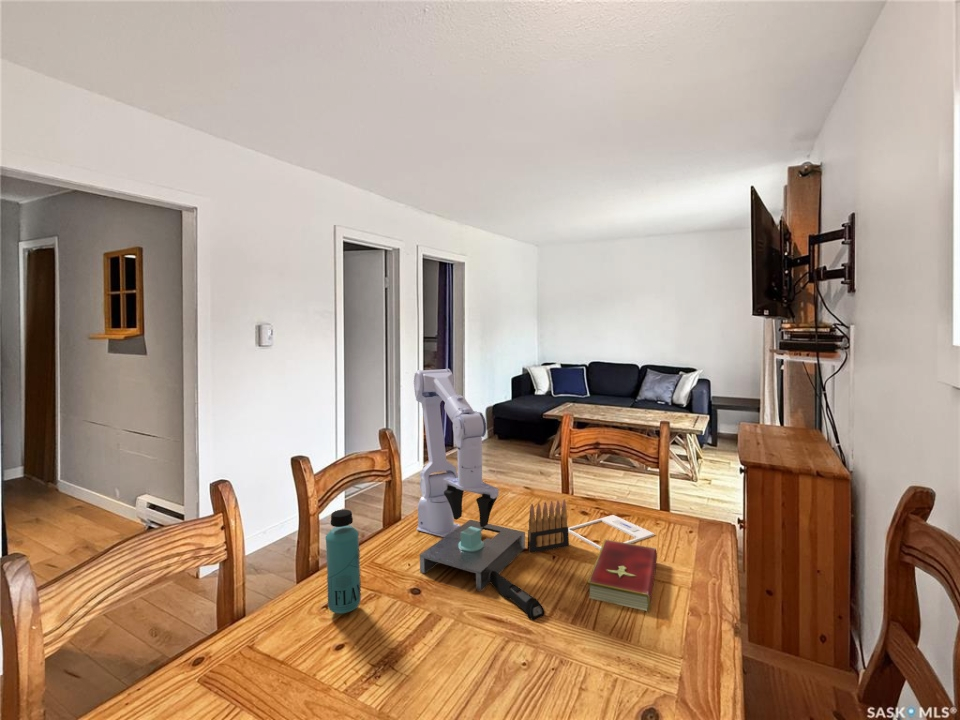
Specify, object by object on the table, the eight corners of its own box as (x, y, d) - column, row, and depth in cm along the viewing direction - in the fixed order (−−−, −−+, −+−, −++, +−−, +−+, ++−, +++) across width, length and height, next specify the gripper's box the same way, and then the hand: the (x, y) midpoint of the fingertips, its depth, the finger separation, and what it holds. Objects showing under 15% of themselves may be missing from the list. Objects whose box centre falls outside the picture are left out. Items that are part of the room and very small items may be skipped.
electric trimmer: (500, 581, 104) (499, 567, 104) (546, 616, 91) (546, 600, 91) (485, 586, 102) (485, 572, 102) (531, 622, 89) (530, 606, 89)
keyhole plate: (420, 572, 107) (419, 554, 107) (470, 534, 126) (470, 519, 126) (481, 591, 99) (480, 572, 99) (525, 548, 118) (524, 532, 118)
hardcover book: (656, 564, 110) (657, 547, 110) (649, 614, 91) (650, 594, 91) (604, 554, 115) (604, 538, 115) (587, 600, 96) (587, 580, 96)
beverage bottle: (330, 625, 88) (327, 521, 87) (324, 607, 94) (321, 509, 93) (365, 615, 91) (362, 514, 90) (357, 598, 97) (354, 503, 96)
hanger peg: (453, 560, 110) (452, 532, 110) (468, 550, 115) (468, 523, 115) (474, 567, 107) (473, 538, 106) (489, 557, 112) (488, 529, 111)
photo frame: (654, 532, 124) (604, 549, 115) (654, 536, 125) (604, 553, 116) (613, 514, 137) (565, 527, 128) (613, 517, 137) (565, 531, 128)
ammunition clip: (565, 543, 121) (565, 497, 120) (569, 546, 119) (569, 499, 118) (527, 549, 117) (526, 502, 116) (530, 553, 116) (530, 505, 115)
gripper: (505, 465, 109) (505, 522, 110) (455, 456, 117) (456, 509, 118) (488, 473, 103) (489, 533, 104) (437, 463, 111) (438, 519, 112)
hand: (470, 521), depth 111 cm, fingers open, 7 cm apart
